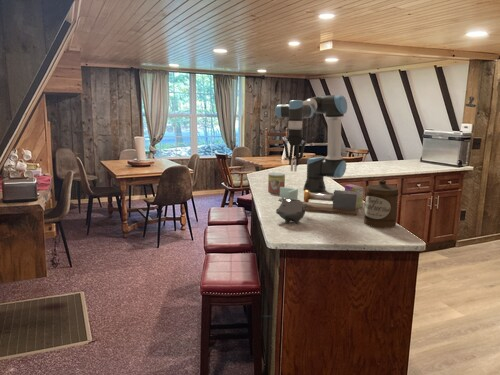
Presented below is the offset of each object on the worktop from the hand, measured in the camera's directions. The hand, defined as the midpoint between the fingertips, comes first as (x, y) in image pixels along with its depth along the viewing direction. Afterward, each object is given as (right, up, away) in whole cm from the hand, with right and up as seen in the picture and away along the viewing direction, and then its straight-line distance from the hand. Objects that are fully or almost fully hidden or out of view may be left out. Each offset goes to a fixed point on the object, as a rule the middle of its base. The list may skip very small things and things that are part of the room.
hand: (293, 171), depth 217 cm
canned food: (-7, -12, +47) cm, 49 cm away
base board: (+16, -21, -1) cm, 27 cm away
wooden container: (+38, -27, -30) cm, 56 cm away
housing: (+27, -21, -5) cm, 35 cm away
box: (+36, -20, +8) cm, 42 cm away
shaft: (+16, -18, -2) cm, 25 cm away
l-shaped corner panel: (-4, -18, +19) cm, 26 cm away
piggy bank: (-4, -26, -29) cm, 39 cm away
